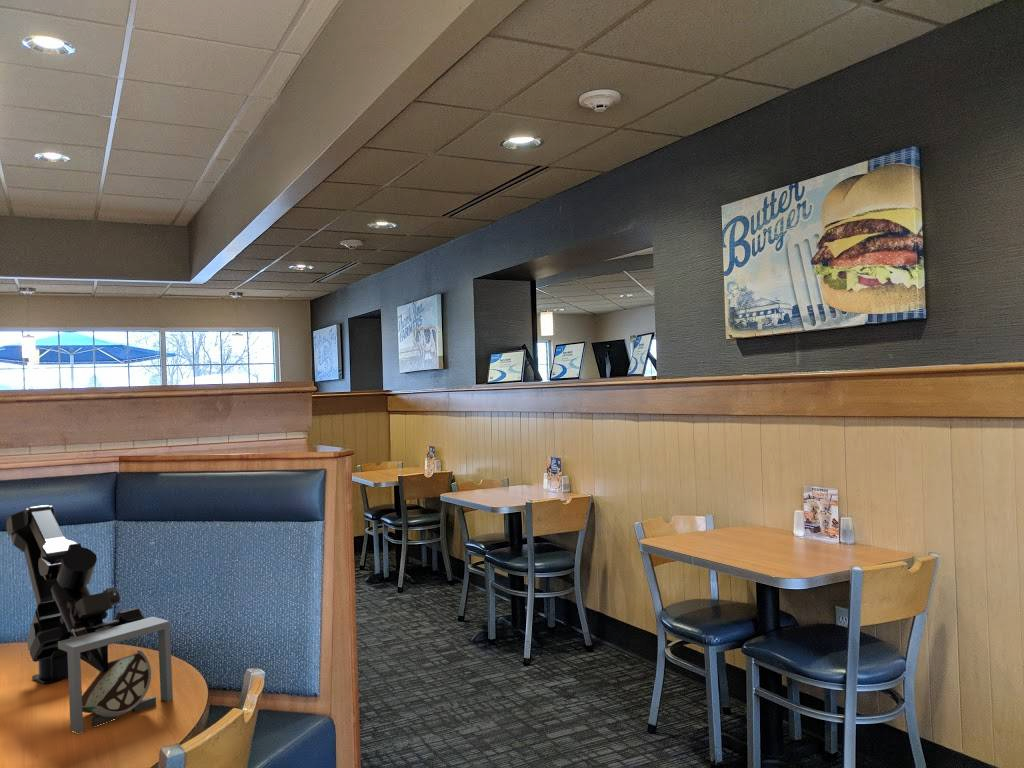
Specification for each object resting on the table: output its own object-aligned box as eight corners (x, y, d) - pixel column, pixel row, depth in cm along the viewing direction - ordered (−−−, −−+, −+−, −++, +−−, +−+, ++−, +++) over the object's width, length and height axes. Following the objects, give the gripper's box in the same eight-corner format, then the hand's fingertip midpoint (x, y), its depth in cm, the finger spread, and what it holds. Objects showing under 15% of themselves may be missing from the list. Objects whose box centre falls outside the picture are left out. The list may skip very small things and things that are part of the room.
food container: (91, 735, 140) (123, 730, 135) (66, 714, 138) (97, 709, 133) (135, 676, 150) (166, 670, 145) (112, 656, 148) (143, 648, 143)
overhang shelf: (61, 726, 136) (57, 641, 136) (156, 693, 150) (153, 616, 150) (77, 734, 132) (73, 647, 132) (172, 700, 146) (169, 621, 146)
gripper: (33, 587, 140) (63, 660, 133) (137, 566, 155) (168, 630, 148) (17, 625, 144) (45, 697, 138) (119, 601, 159) (149, 665, 152)
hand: (105, 670), depth 144 cm, fingers closed
